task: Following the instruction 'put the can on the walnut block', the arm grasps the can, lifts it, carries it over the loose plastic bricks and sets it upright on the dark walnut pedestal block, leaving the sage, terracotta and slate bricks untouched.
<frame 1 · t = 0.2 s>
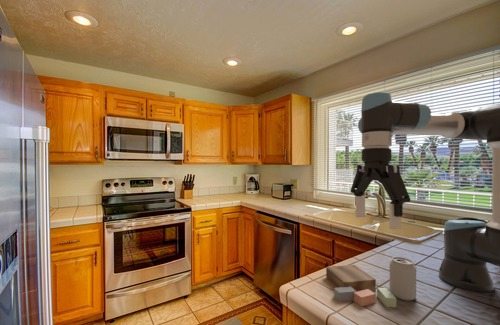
hand: (376, 222, 66), 27 cm above the countertop, fingers open, 13 cm apart
brick terracotta: (364, 302, 74), on the countertop
walnut block: (349, 283, 86), on the countertop
can: (402, 296, 78), on the countertop
brick sage: (386, 302, 75), on the countertop
brick slate: (345, 298, 76), on the countertop
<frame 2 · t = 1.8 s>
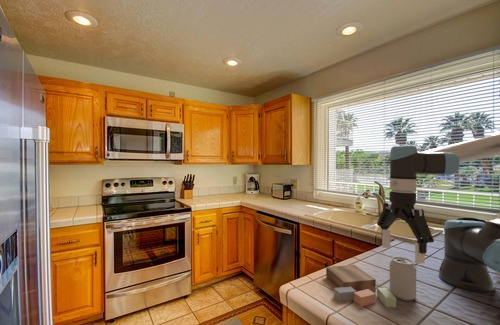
hand: (401, 254, 78), 14 cm above the countertop, fingers open, 13 cm apart
nothing on the countertop moved.
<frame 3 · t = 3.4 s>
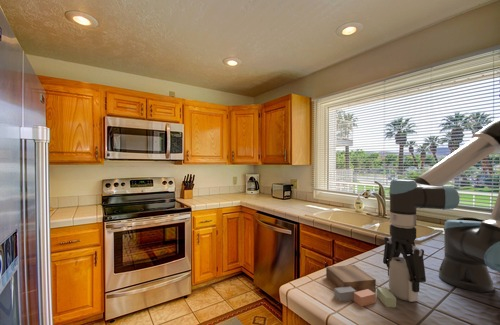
hand: (402, 293, 78), 1 cm above the countertop, fingers closed on can, 7 cm apart
can: (402, 296, 78), on the countertop, touching gripper
everything else where it was.
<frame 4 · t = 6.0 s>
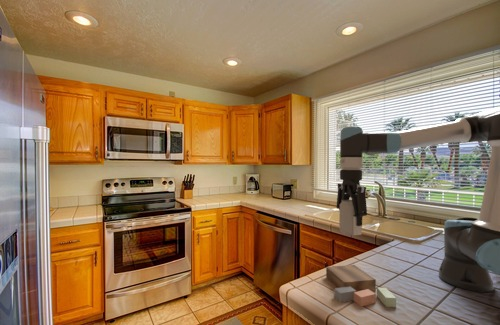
hand: (350, 231, 86), 19 cm above the countertop, fingers closed on can, 7 cm apart
can: (350, 233, 86), point 19 cm above the countertop, touching gripper
everything else where it was.
when the fingers open (6 cm above the countertop, at t = 8.9 s): can drops 1 cm, resting on walnut block.
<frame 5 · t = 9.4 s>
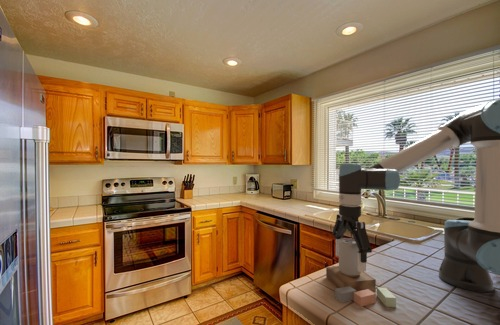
hand: (349, 262, 86), 8 cm above the countertop, fingers open, 13 cm apart
can: (349, 273, 86), point 4 cm above the countertop, touching walnut block
everything else where it was.
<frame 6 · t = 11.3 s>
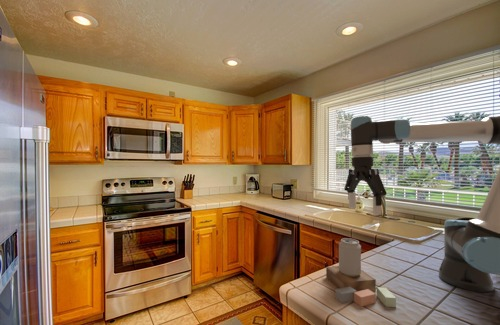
hand: (363, 211, 90), 26 cm above the countertop, fingers open, 13 cm apart
nothing on the countertop moved.
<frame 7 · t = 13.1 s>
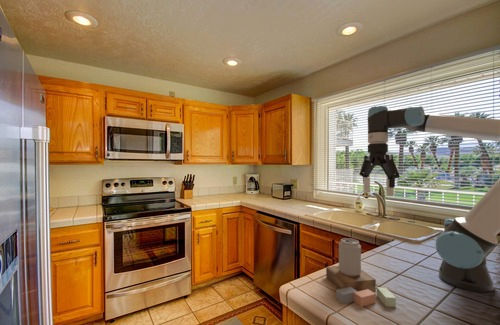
hand: (377, 193, 98), 32 cm above the countertop, fingers open, 13 cm apart
nothing on the countertop moved.
at the end: can inside the target area on the walnut block (0.1 cm from its centre), point 3.8 cm above the walnut block's base; can tilted 0°; brick sage moved 0.3 cm from its start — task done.
